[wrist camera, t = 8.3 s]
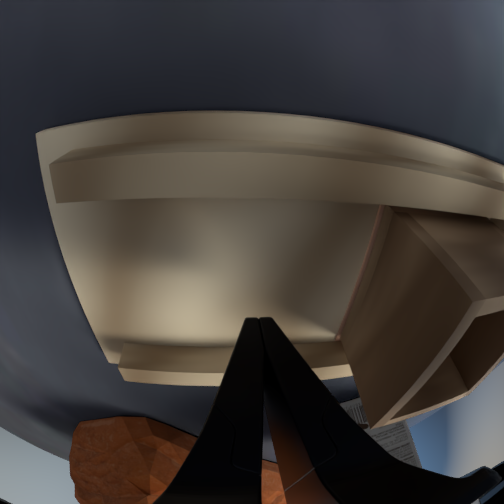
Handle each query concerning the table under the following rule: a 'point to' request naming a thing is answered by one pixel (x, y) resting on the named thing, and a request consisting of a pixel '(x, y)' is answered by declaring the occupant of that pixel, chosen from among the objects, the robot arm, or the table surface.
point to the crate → (426, 312)
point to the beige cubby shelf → (236, 227)
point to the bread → (138, 461)
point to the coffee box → (386, 434)
